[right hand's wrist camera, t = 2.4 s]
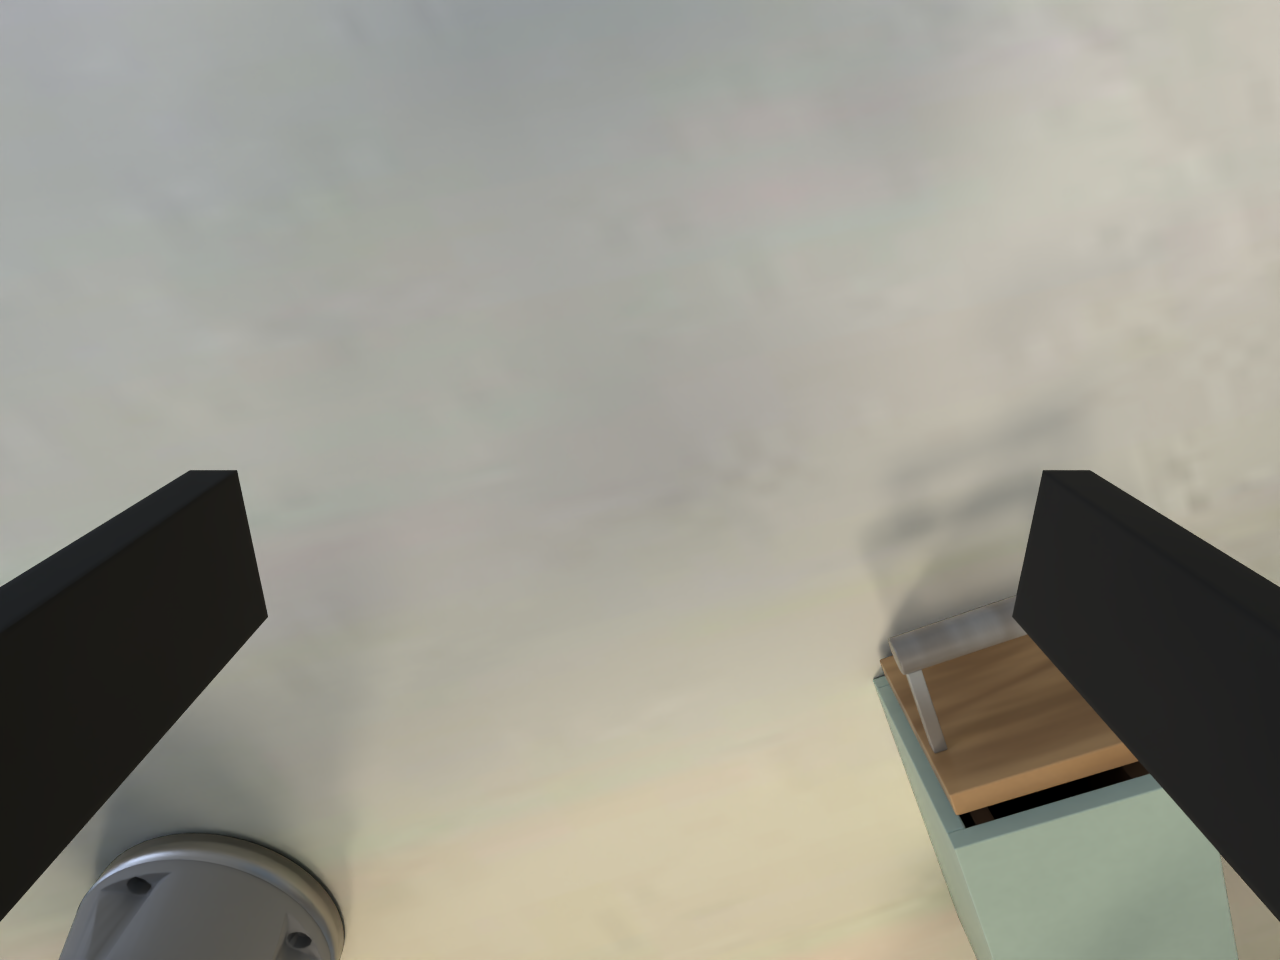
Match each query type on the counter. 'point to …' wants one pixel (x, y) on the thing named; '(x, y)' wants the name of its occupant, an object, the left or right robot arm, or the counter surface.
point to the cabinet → (1076, 871)
